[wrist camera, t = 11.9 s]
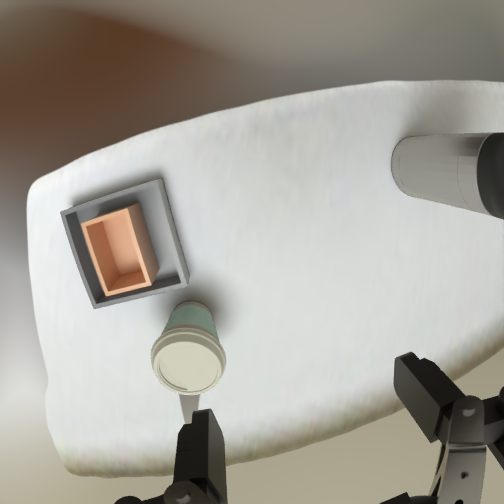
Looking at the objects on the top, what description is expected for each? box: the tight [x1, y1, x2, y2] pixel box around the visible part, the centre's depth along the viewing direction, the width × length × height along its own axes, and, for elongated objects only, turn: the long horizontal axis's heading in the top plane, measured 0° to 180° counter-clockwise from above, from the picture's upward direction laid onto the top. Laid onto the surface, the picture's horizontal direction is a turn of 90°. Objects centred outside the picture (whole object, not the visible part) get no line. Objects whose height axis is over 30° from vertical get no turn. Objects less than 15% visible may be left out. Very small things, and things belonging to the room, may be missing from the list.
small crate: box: [81, 202, 160, 296], centre depth 35 cm, size 6×9×6 cm, turn 13°
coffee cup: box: [151, 301, 226, 395], centre depth 37 cm, size 8×8×12 cm
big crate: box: [60, 178, 190, 309], centre depth 37 cm, size 13×13×4 cm
